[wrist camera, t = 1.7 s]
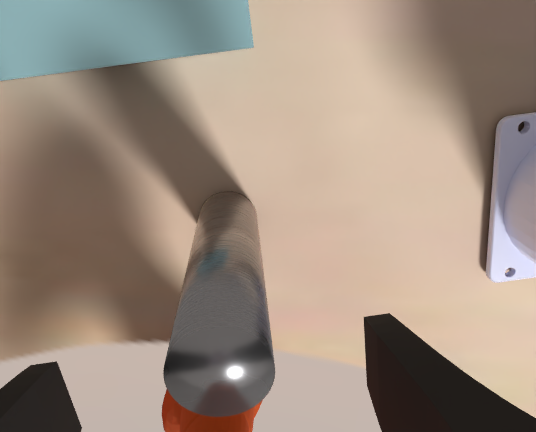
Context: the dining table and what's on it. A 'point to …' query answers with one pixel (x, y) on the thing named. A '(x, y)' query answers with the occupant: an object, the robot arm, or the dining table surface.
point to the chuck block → (114, 32)
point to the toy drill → (203, 419)
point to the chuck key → (222, 315)
